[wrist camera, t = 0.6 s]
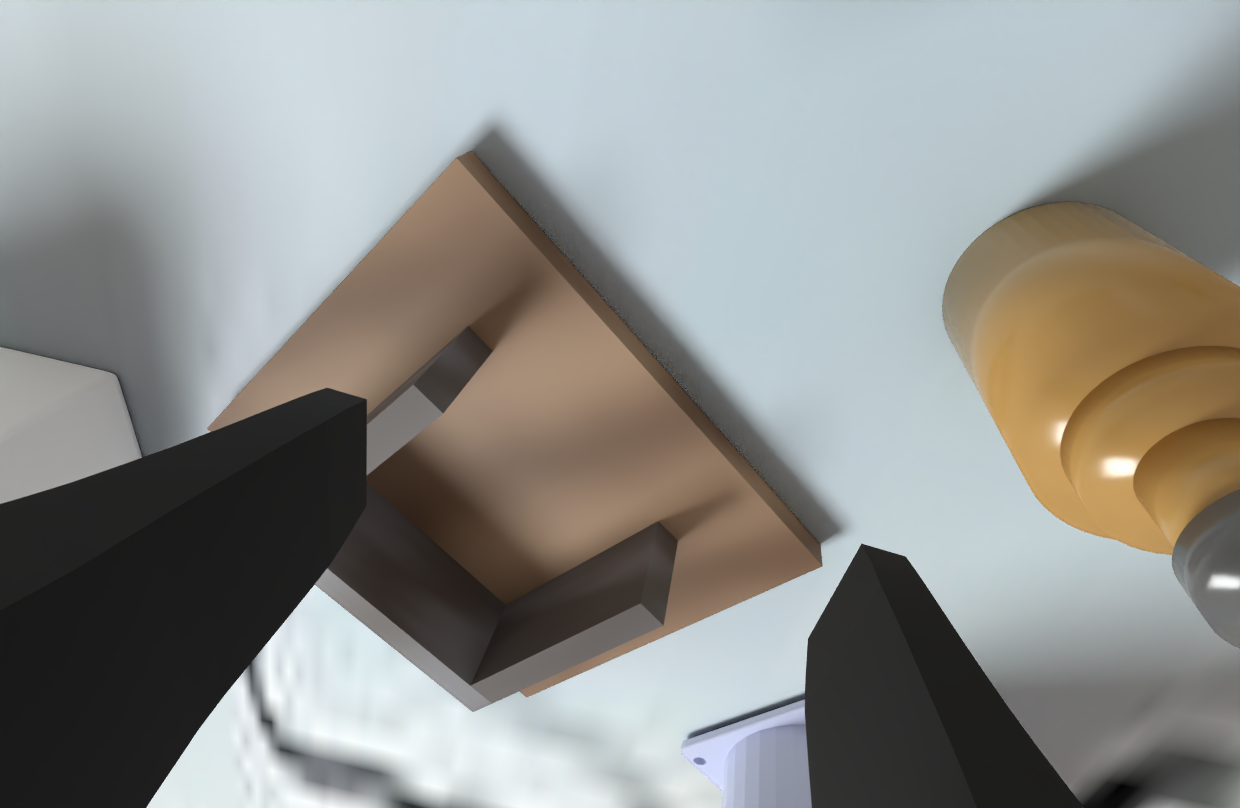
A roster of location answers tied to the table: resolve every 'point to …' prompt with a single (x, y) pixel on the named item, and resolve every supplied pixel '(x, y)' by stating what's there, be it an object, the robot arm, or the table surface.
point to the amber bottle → (1112, 384)
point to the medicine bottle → (58, 424)
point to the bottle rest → (520, 458)
